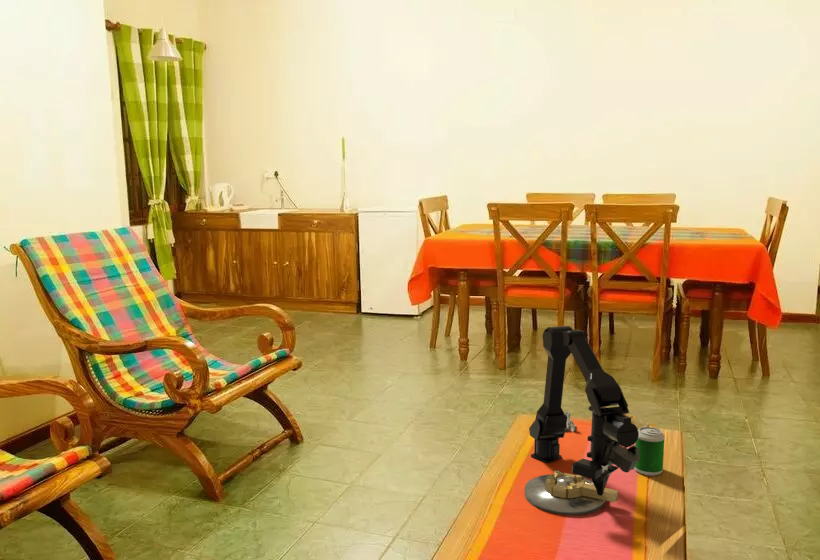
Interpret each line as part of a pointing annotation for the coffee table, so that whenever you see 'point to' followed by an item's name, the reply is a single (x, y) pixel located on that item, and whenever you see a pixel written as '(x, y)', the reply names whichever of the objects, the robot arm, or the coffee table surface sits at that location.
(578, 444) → the coffee table surface
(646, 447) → the soda can
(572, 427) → the grey rock pile
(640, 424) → the brown rock
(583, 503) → the flange
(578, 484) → the brass ring wrench
